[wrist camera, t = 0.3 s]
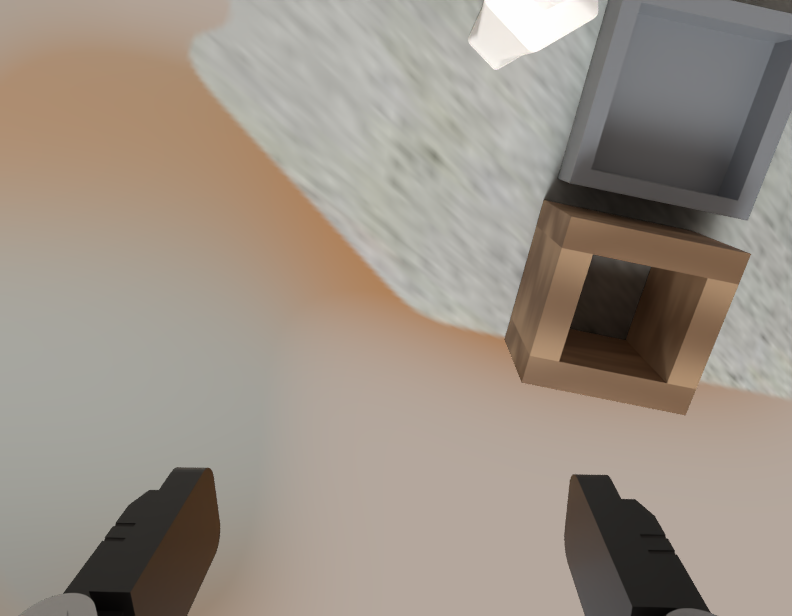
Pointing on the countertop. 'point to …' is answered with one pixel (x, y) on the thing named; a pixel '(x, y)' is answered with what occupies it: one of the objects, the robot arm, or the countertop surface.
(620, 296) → the countertop surface
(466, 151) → the countertop surface
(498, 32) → the perfume bottle
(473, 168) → the countertop surface
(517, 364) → the wooden cubby box
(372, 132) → the countertop surface
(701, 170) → the tray
